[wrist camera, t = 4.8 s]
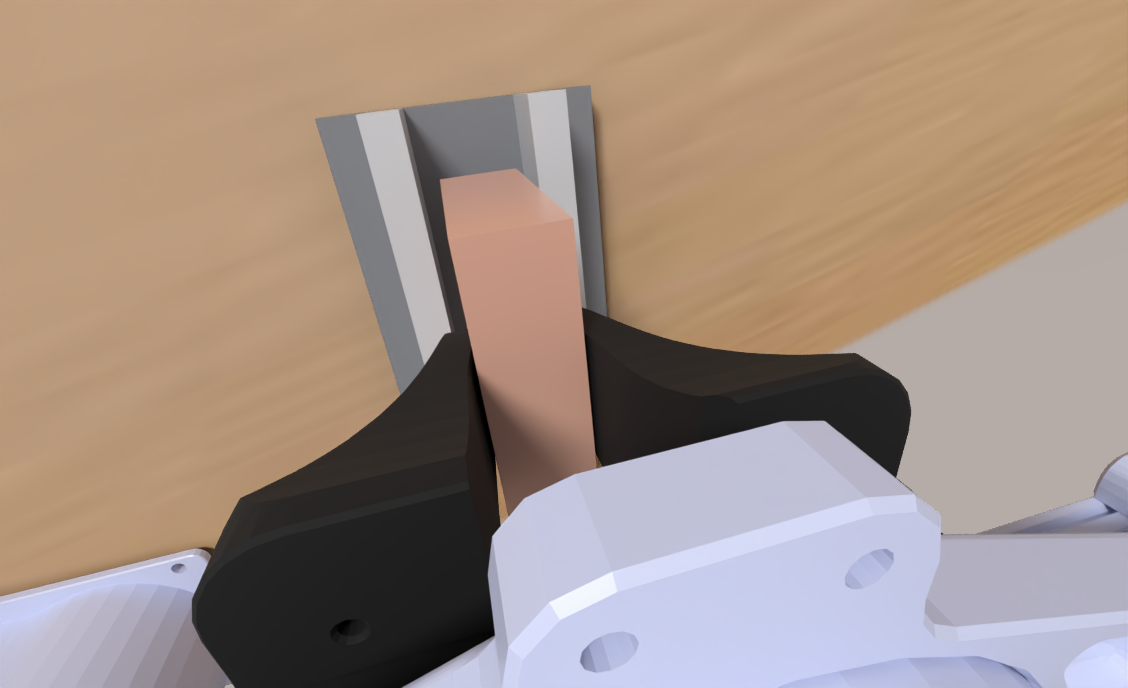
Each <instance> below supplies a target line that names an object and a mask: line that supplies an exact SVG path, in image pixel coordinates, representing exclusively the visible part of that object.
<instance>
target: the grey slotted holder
mask: <svg viewBox="0 0 1128 688" xmlns="http://www.w3.org/2000/svg"><path fill="white" fill-rule="evenodd" d="M315 120H316V124H317V127H318V130H319V133H320V137H321V140H322V143H323V146H324V149H325V153H326V156H327V159H328V162H329V166H330V169H331V172H332V175H333V179H334V182H335V185H336V188H337V191H338V195H339V198H340V201H341V204H342V208H343V211H344V214H345V217H346V220H347V224H348V227H349V230H350V233H351V237H352V240H353V243H354V246H355V249H356V253H357V256H358V259H359V262H360V266H361V269H362V272H363V275H364V278H365V282H366V285H367V288H368V291H369V295H370V298H371V301H372V304H373V307H374V311H375V314H376V317H377V320H378V324H379V327H380V330H381V333H382V336H383V340H384V343H385V346H386V349H387V353H388V356H389V359H390V362H391V365H392V369H393V372H394V375H395V378H396V382H397V385H398V388H399V391H400V394H402V393H403V392H404V391H405V390H406V389H407V387H408V386H409V385H410V384H411V382H412V381H413V380H414V379H415V377H416V376H417V375H418V374H419V372H420V371H421V369H422V368H423V366H424V365H425V364H426V362H427V361H428V359H429V358H430V356H431V354H432V353H433V351H434V350H435V348H436V346H437V345H438V343H439V341H440V340H441V338H442V337H443V335H444V334H445V333H450V332H455V331H460V330H465V329H467V324H466V319H465V315H464V310H463V306H462V301H461V297H460V292H459V287H458V283H457V278H456V274H455V269H454V265H453V260H452V255H451V251H450V246H449V242H448V236H447V229H446V221H445V214H444V207H443V199H442V192H441V185H440V179H446V178H453V177H460V176H466V175H473V174H480V173H487V172H494V171H501V170H508V169H514V168H516V169H517V170H518V171H519V172H521V173H522V174H523V175H524V176H525V177H526V178H527V179H529V180H530V181H531V182H532V183H533V184H534V185H535V186H537V187H538V188H539V189H540V190H541V191H542V192H544V193H545V194H546V195H547V196H548V197H549V198H550V199H552V200H553V201H554V202H555V203H556V204H557V205H558V206H560V207H561V208H562V209H563V210H564V211H565V212H567V213H568V214H569V215H570V216H571V217H572V218H573V222H574V232H575V243H576V254H577V264H578V275H579V285H580V296H581V307H582V308H586V309H589V310H591V311H594V312H596V313H599V314H601V315H603V316H606V317H607V308H606V294H605V280H604V267H603V253H602V239H601V225H600V211H599V198H598V184H597V170H596V156H595V142H594V129H593V115H592V101H591V87H590V85H589V86H579V87H570V88H562V89H554V90H546V91H538V92H529V93H521V94H513V95H505V96H497V97H488V98H480V99H472V100H464V101H456V102H447V103H439V104H431V105H423V106H414V107H406V108H398V109H390V110H382V111H373V112H365V113H357V114H349V115H341V116H332V117H324V118H317V119H315Z"/></svg>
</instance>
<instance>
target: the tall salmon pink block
mask: <svg viewBox="0 0 1128 688" xmlns="http://www.w3.org/2000/svg"><path fill="white" fill-rule="evenodd" d="M440 185H441V192H442V199H443V207H444V214H445V221H446V229H447V236H448V242H449V246H450V251H451V255H452V260H453V265H454V269H455V274H456V278H457V283H458V287H459V292H460V297H461V301H462V306H463V310H464V315H465V319H466V324H467V329H468V333H469V338H470V342H471V347H472V351H473V356H474V361H475V365H476V370H477V374H478V379H479V383H480V388H481V393H482V397H483V402H484V406H485V411H486V415H487V420H488V425H489V429H490V434H491V438H492V443H493V447H494V452H495V456H496V461H497V466H498V470H499V475H500V479H501V484H502V488H503V493H504V498H505V502H506V507H507V511H508V516H510V515H511V514H512V512H513V511H514V510H515V509H516V508H517V506H518V505H519V504H520V503H521V502H522V501H523V499H524V498H526V497H528V496H530V495H532V494H534V493H536V492H539V491H541V490H543V489H545V488H547V487H549V486H551V485H553V484H555V483H557V482H559V481H562V480H564V479H566V478H568V477H570V476H572V475H574V474H578V473H582V472H586V471H590V470H593V469H597V466H596V456H595V445H594V434H593V424H592V413H591V402H590V392H589V381H588V371H587V360H586V349H585V339H584V328H583V317H582V307H581V296H580V285H579V275H578V264H577V254H576V243H575V232H574V222H573V218H572V217H571V216H570V215H569V214H568V213H567V212H565V211H564V210H563V209H562V208H561V207H560V206H558V205H557V204H556V203H555V202H554V201H553V200H552V199H550V198H549V197H548V196H547V195H546V194H545V193H544V192H542V191H541V190H540V189H539V188H538V187H537V186H535V185H534V184H533V183H532V182H531V181H530V180H529V179H527V178H526V177H525V176H524V175H523V174H522V173H521V172H519V171H518V170H517V169H516V168H514V169H508V170H501V171H494V172H487V173H480V174H473V175H466V176H460V177H453V178H446V179H440Z"/></svg>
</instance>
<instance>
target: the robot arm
mask: <svg viewBox="0 0 1128 688" xmlns="http://www.w3.org/2000/svg"><path fill="white" fill-rule="evenodd" d="M582 317H583V328H584V339H585V349H586V360H587V371H588V381H589V392H590V402H591V413H592V424H593V434H594V445H595V453H596V455H597V457H598V459H599V461H600V462H601V464H602V466H603V467H601V468H597V469H593V470H590V471H586V472H582V473H578V474H574V475H572V476H570V477H568V478H566V479H564V480H562V481H559V482H557V483H555V484H553V485H551V486H549V487H547V488H545V489H543V490H541V491H539V492H536V493H534V494H532V495H530V496H528V497H526V498H524V499H523V501H522V502H521V503H520V504H519V505H518V506H517V508H516V509H515V510H514V511H513V512H512V514H511V515H510V516H509V517H508V518H507V519H506V521H505V522H504V523H503V524H502V525H500V516H499V505H498V490H497V476H496V461H495V452H494V447H493V443H492V438H491V434H490V429H489V425H488V420H487V415H486V411H485V406H484V402H483V397H482V393H481V388H480V383H479V379H478V374H477V370H476V365H475V361H474V356H473V351H472V347H471V342H470V338H469V333H468V329H465V330H460V331H455V332H450V333H445V334H444V335H443V337H442V338H441V340H440V341H439V343H438V345H437V346H436V348H435V350H434V351H433V353H432V354H431V356H430V358H429V359H428V361H427V362H426V364H425V365H424V366H423V368H422V369H421V371H420V372H419V374H418V375H417V376H416V377H415V379H414V380H413V381H412V382H411V384H410V385H409V386H408V387H407V389H406V390H405V391H404V392H403V393H402V394H401V395H400V396H399V397H398V398H397V399H396V400H395V401H394V402H393V403H392V404H391V405H390V406H389V407H388V408H387V409H386V410H385V411H384V412H383V413H382V414H380V415H379V416H378V417H377V418H376V419H374V420H373V421H372V422H371V423H369V424H368V425H367V426H365V427H364V428H363V429H361V430H360V431H359V432H357V433H356V434H355V435H353V436H352V437H351V438H350V439H348V440H347V441H345V442H344V443H342V444H341V445H339V446H338V447H336V448H335V449H333V450H332V451H330V452H328V453H327V454H325V455H324V456H322V457H320V458H318V459H317V460H315V461H313V462H312V463H310V464H308V465H306V466H305V467H303V468H301V469H299V470H297V471H296V472H294V473H292V474H290V475H287V476H285V477H283V478H281V479H279V480H277V481H275V482H273V483H271V484H269V485H267V486H265V487H263V488H261V489H259V490H257V491H255V492H253V493H251V494H248V495H246V496H244V497H242V498H240V500H239V501H238V503H237V505H236V507H235V509H234V510H233V512H232V514H231V516H230V518H229V520H228V522H227V524H226V525H225V527H224V529H223V532H222V534H221V536H220V538H219V540H218V543H217V545H216V547H215V549H214V551H213V553H212V556H211V555H210V554H209V553H208V552H207V551H205V550H203V549H190V550H186V551H182V552H178V553H174V554H170V555H166V556H162V557H158V558H154V559H150V560H146V561H142V562H138V563H134V564H130V565H126V566H122V567H118V568H114V569H110V570H106V571H102V572H98V573H94V574H90V575H86V576H82V577H78V578H74V579H70V580H66V581H61V582H57V583H53V584H49V585H45V586H41V587H37V588H33V589H29V590H25V591H21V592H17V593H13V594H9V595H5V596H1V597H0V688H224V687H225V685H228V684H233V685H234V687H235V688H1128V453H1125V454H1123V455H1121V456H1119V457H1117V458H1116V459H1115V460H1113V461H1112V462H1111V463H1110V464H1109V465H1108V466H1107V467H1106V468H1105V470H1104V471H1103V473H1102V474H1101V476H1100V478H1099V479H1098V481H1097V484H1096V486H1095V489H1094V496H1093V497H1090V498H1087V499H1084V500H1081V501H1078V502H1075V503H1072V504H1068V505H1065V506H1062V507H1059V508H1056V509H1053V510H1049V511H1046V512H1043V513H1040V514H1037V515H1034V516H1031V517H1028V518H1024V519H1021V520H1018V521H1015V522H1012V523H1009V524H1006V525H1003V526H999V527H996V528H993V529H990V530H987V531H984V532H981V533H977V534H943V533H941V515H940V514H939V513H938V512H937V511H936V510H935V509H933V508H932V507H930V505H928V504H927V503H926V502H925V501H923V500H922V499H921V498H920V497H919V496H917V495H916V494H915V493H914V492H913V491H912V490H911V489H909V488H908V487H907V486H905V485H904V484H903V483H902V482H901V481H900V480H898V479H897V478H896V476H897V472H898V468H899V465H900V461H901V457H902V454H903V450H904V446H905V443H906V439H907V435H908V431H909V424H910V417H911V407H910V401H909V396H908V392H907V391H906V389H905V388H904V386H903V385H902V383H901V382H900V380H898V379H897V378H895V377H894V376H892V375H890V374H889V373H887V372H886V371H884V370H882V369H881V368H879V367H877V366H876V365H874V364H873V363H871V362H869V361H868V360H866V359H865V358H863V357H861V356H860V355H858V354H856V353H845V354H815V355H779V354H757V353H744V352H735V351H727V350H719V349H712V348H706V347H700V346H696V345H691V344H687V343H682V342H678V341H674V340H670V339H666V338H663V337H660V336H656V335H653V334H650V333H647V332H644V331H641V330H638V329H636V328H633V327H630V326H628V325H625V324H623V323H620V322H618V321H615V320H613V319H610V318H608V317H606V316H603V315H601V314H599V313H596V312H594V311H591V310H589V309H586V308H582ZM180 564H183V565H180Z"/></svg>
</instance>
